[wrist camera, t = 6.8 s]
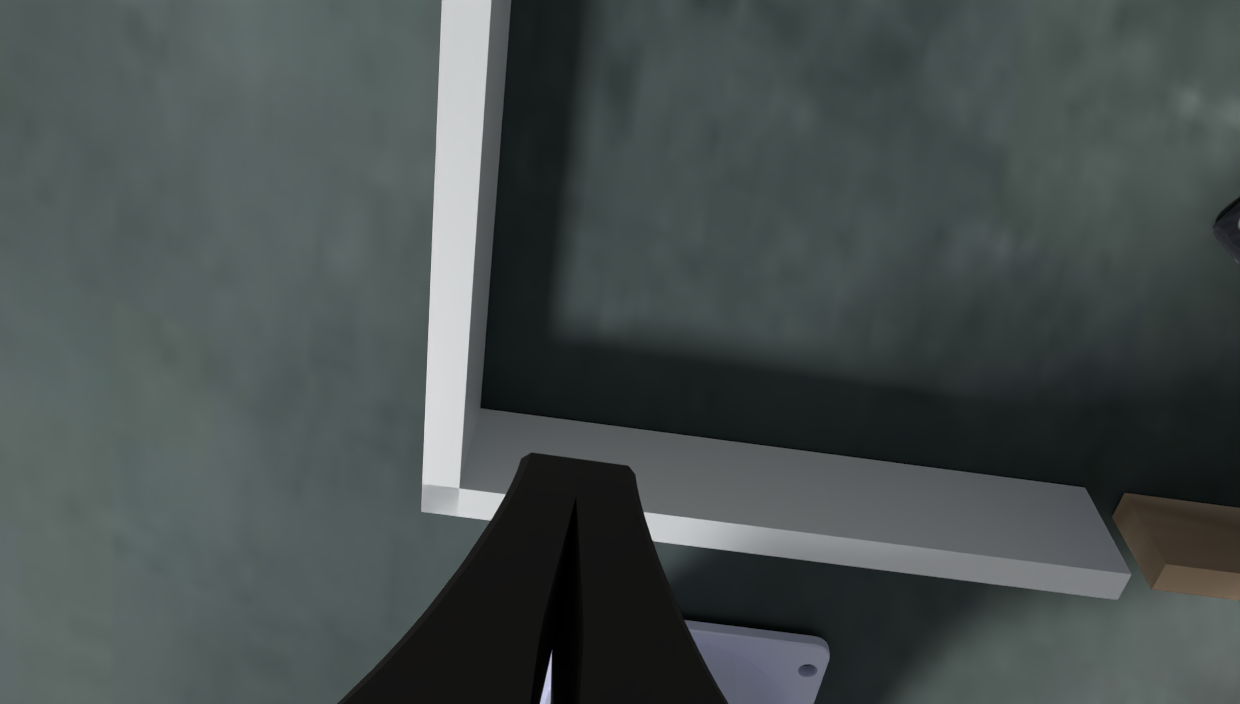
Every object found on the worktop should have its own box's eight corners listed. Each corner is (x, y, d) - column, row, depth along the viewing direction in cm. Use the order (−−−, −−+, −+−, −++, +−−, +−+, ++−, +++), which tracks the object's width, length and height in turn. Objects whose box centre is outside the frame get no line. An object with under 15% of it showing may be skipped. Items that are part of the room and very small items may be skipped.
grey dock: (1073, 511, 26) (1117, 600, 23) (446, 430, 25) (421, 511, 23) (1409, -178, 18) (1536, -158, 15) (487, -325, 17) (455, -331, 14)
